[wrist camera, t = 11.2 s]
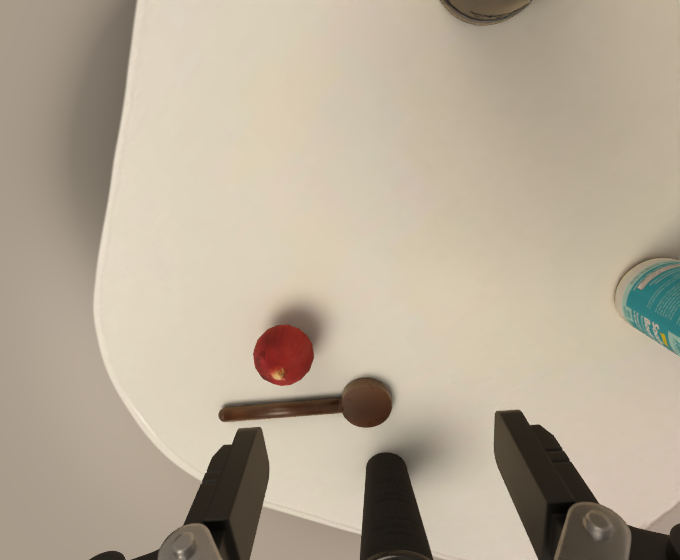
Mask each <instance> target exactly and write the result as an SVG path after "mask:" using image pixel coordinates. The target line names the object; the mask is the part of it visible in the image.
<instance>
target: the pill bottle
mask: <svg viewBox="0 0 680 560" xmlns="http://www.w3.org/2000/svg"><path fill="white" fill-rule="evenodd" d="M615 305H616V309H617V311H618V313H619V315H620V316H621V317H622V318H623V319H624V320H625V321H626V322H627V323H629V324H630V325H632V326H633V327H635V328H636V329H638V330H639V331H641V332H643V333H644V334H646V335H647V336H649V337H650V338H652V339H653V340H655V341H656V342H658V343H659V344H661V345H663V346H664V347H666V348H667V349H669V350H670V351H672V352H673V353H675V354H676V355H678V356H680V261H678V260H675V259H670V258H656V259H651V260H647V261H645V262H642V263H640V264H638V265H637V266H635V267H634V268H632V269H631V270H630V271H629V272H628V273H627V274H626V275H625V276H624V277H623V278H622V280H621V281H620V283H619V285H618V287H617V290H616V294H615Z"/></svg>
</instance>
